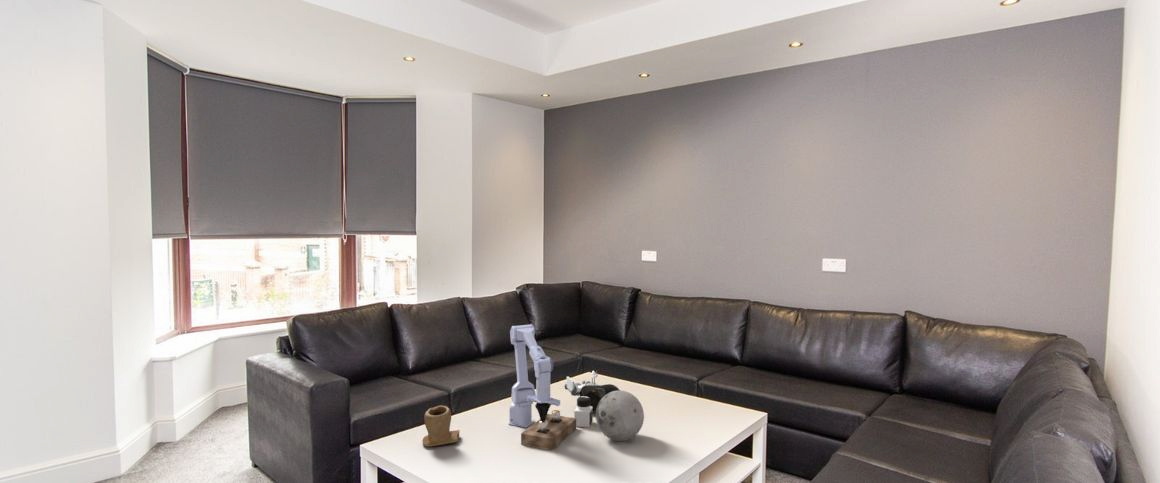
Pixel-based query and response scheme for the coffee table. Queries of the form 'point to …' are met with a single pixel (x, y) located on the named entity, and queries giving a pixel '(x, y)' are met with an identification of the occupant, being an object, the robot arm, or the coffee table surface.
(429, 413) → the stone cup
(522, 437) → the socket block
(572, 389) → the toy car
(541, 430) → the peg near
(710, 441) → the coffee table surface
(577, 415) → the medicine bottle
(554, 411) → the peg far
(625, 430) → the moon model
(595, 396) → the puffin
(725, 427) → the coffee table surface
